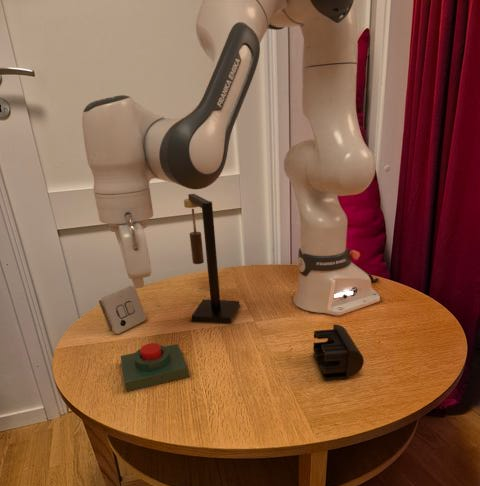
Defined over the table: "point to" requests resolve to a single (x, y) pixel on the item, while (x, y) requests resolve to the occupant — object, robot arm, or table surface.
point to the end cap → (337, 354)
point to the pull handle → (196, 244)
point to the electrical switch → (122, 309)
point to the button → (151, 351)
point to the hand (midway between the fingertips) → (138, 285)
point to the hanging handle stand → (211, 271)
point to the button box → (153, 368)
